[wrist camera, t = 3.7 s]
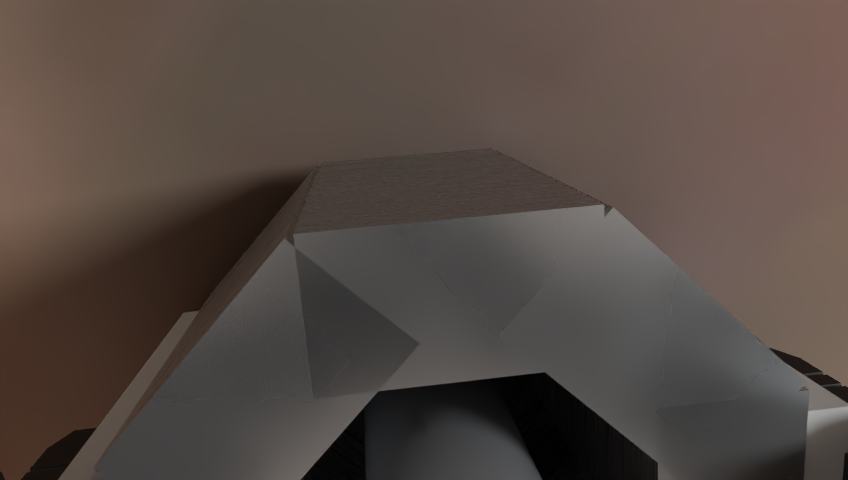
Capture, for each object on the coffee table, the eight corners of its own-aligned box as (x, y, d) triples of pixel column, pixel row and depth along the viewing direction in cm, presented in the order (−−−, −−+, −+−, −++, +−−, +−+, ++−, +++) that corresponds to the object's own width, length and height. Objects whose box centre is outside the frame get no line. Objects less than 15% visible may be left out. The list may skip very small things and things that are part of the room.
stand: (260, 223, 14) (138, 399, 6) (546, 197, 14) (774, 327, 7) (294, 484, 15) (233, 899, 7) (555, 451, 16) (753, 808, 8)
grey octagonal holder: (189, 174, 12) (43, 257, 7) (613, 137, 13) (823, 183, 7) (249, 550, 14) (176, 873, 8) (616, 501, 15) (784, 771, 9)
